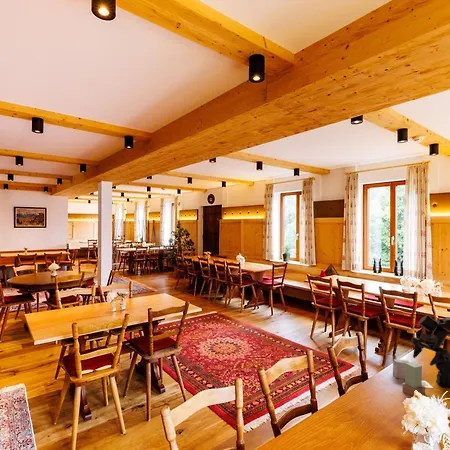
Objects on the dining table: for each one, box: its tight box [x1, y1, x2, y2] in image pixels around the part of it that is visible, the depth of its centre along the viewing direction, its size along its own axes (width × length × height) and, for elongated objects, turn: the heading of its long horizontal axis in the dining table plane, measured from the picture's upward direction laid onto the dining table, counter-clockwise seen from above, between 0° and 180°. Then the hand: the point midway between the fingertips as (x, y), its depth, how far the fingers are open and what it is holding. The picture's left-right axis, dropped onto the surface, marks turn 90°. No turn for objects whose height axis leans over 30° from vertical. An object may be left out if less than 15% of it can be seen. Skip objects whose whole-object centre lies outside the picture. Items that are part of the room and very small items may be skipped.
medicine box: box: [392, 358, 411, 380], centre depth 171 cm, size 8×4×9 cm, turn 84°
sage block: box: [404, 361, 423, 388], centre depth 155 cm, size 5×5×10 cm
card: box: [422, 380, 434, 389], centre depth 163 cm, size 7×7×1 cm
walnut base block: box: [402, 382, 426, 397], centre depth 155 cm, size 7×7×4 cm
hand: (421, 361), depth 160 cm, fingers open, 9 cm apart
